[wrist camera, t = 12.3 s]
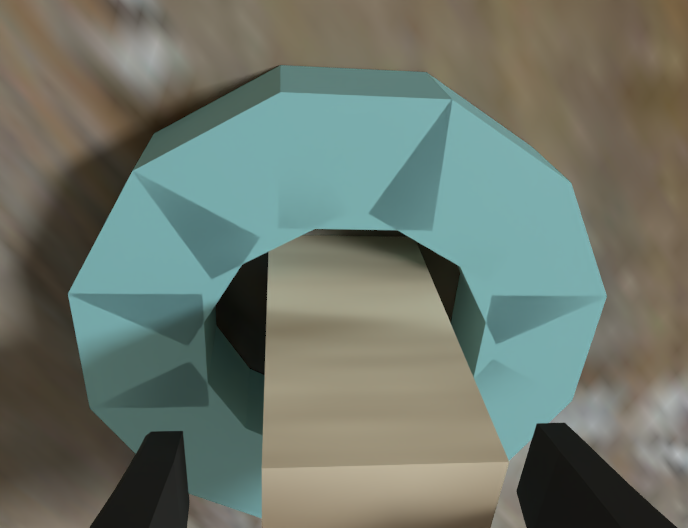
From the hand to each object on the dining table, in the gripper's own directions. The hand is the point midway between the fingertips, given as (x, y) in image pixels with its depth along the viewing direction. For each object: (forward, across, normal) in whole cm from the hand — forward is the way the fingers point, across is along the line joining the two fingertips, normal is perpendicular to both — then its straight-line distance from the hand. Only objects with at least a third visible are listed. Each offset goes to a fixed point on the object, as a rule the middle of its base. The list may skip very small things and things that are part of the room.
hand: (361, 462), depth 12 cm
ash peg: (+6, 0, 0) cm, 6 cm away
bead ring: (+6, 0, 0) cm, 6 cm away
